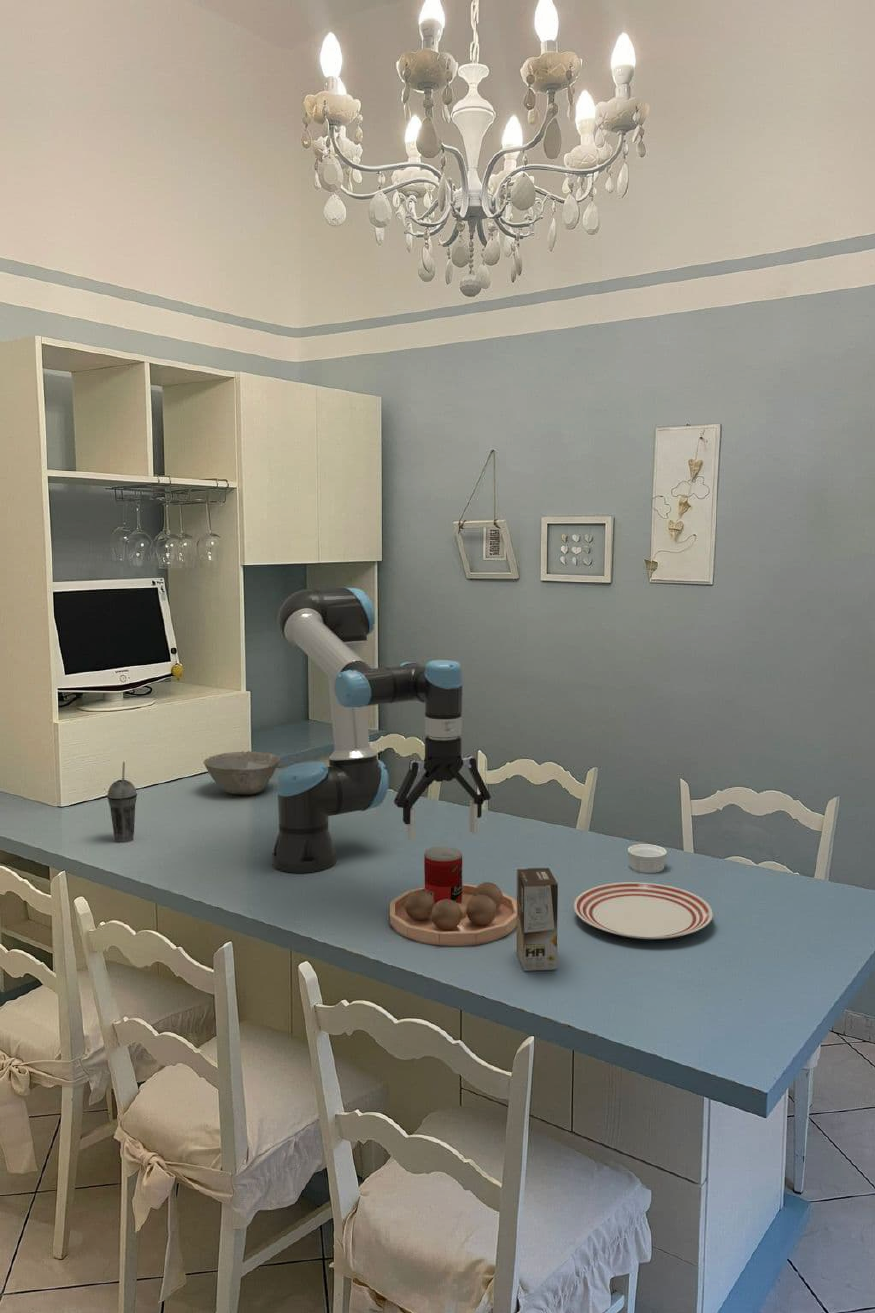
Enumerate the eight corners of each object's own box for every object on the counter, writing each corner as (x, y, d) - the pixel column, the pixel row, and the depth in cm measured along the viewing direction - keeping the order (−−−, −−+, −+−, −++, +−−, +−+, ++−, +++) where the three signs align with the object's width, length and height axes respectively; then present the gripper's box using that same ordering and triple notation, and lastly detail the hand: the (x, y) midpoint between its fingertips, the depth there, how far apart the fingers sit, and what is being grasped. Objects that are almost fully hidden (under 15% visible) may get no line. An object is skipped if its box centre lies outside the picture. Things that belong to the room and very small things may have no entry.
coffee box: (558, 970, 179) (559, 884, 177) (523, 972, 179) (523, 885, 176) (548, 948, 188) (549, 867, 186) (514, 950, 188) (515, 868, 185)
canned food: (458, 910, 205) (458, 859, 203) (420, 908, 206) (420, 856, 205) (465, 897, 212) (465, 847, 211) (428, 894, 214) (428, 845, 212)
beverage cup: (103, 842, 252) (99, 765, 249) (122, 834, 259) (118, 758, 256) (126, 845, 249) (122, 767, 247) (145, 837, 256) (141, 761, 253)
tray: (365, 930, 197) (365, 918, 197) (428, 887, 220) (428, 877, 219) (484, 956, 185) (484, 943, 185) (538, 908, 208) (538, 897, 207)
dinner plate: (686, 962, 183) (687, 945, 182) (551, 930, 197) (551, 914, 197) (729, 912, 206) (729, 897, 205) (605, 887, 220) (605, 873, 220)
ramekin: (666, 875, 227) (667, 857, 227) (627, 873, 229) (627, 855, 228) (665, 862, 236) (666, 845, 235) (627, 860, 237) (628, 843, 237)
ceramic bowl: (245, 806, 283) (244, 772, 282) (188, 795, 296) (187, 762, 294) (296, 789, 302) (296, 757, 300) (241, 779, 314) (240, 748, 313)
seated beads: (394, 925, 197) (394, 896, 196) (437, 895, 213) (437, 868, 212) (477, 943, 189) (477, 913, 188) (515, 910, 205) (515, 882, 204)
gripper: (388, 744, 197) (388, 847, 200) (506, 736, 204) (504, 836, 208) (379, 735, 204) (379, 835, 207) (493, 728, 211) (492, 825, 215)
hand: (442, 835), depth 207 cm, fingers open, 13 cm apart
